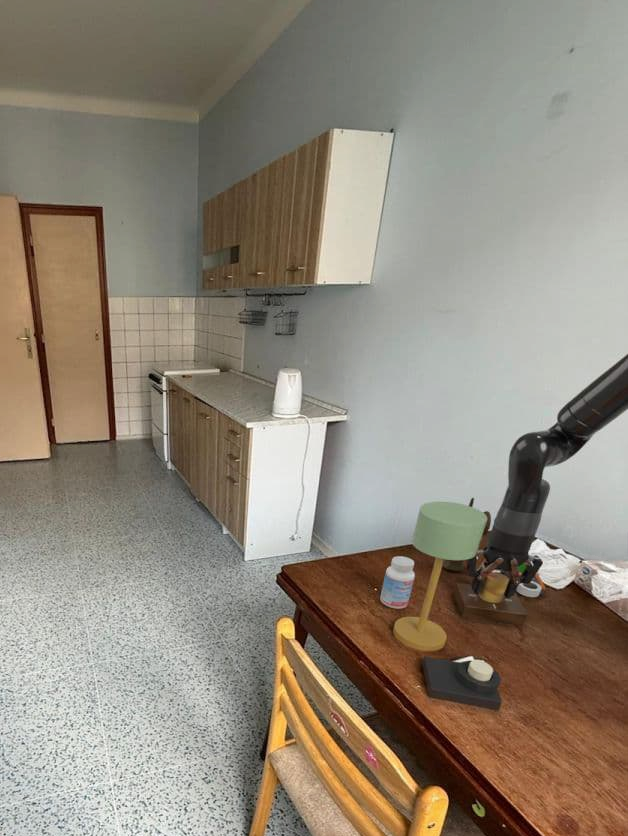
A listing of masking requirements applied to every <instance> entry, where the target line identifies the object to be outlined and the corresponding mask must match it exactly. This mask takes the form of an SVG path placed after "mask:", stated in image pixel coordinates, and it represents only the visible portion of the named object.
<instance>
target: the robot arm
mask: <svg viewBox="0 0 628 836" xmlns="http://www.w3.org/2000/svg"><path fill="white" fill-rule="evenodd" d="M626 411H628V353H627V354H625V355H624V356H623V357H622V358H620V359H619V360H618V361H616V363H615V364H613V365H612V366H610V367H609V368H608V369H606V370H605V371H604V372H603V373H602V374H600V375H599V376H598V377H596V378H595V379H594V380H593V381H591V383H589V384H588V385H586V386H585V388H583V389H582V390H581V391H580V392H578V393H577V394H576V395H575V396H573V398H571V399H570V400H569V401H568V402H567V403H566V404H564V405H563V406H562V408H561V409H559V411H558V413H557V415H556V421H557V422H555V423H554V424H553V425H552V426H551V427H549V428H548V429H545V430H538V431H531V432H527V433H524V434H522V435H521V436H519V437H518V438H517V439H516V441H515V442H514V444H513V445H512V447H511V449H510V451H509V455H508V464H507V465H508V468H507V480H508V482H507V483H508V484H507V487H506V490H505V493H504V497H503V499H502V502H501V505H500V506H499V508H498V510H497V513H496V516H495V517H494V520H493V525H492V528H491V531H490V533H489V536H488V540H487V543H486V545H485V547H484V548H483V549H478V550H477V554H476V555H475V556H474V557H473V558H471V559H467V560H466V572H467V574H468V576H469V577H470V578H473V580H472V583H471V584H470V585H471V587H472V590H473V591H474V593H475V594H479V592H480V589H481V586H482V584H483V581H484V578H485V577H486V576H487V575H488V574H490V573H491V572H494V571H502V570H504V571H509V572H510V577H511V579H510V580H509V582H508V584H507V587H506V590H505V592H504V596H505V598H509V599H510V597H511V596H514V594H516V592H517V591H516V589H517V587H518V585H519V584H521V583H525V584H529V583H530V582H531V581H532V579H533V578H534V576H535V575H536V573H537V572H539V570H540V569H541V567H542V566H543V564H544V562H543V560H542V559H541V557H540V556H539V555H531V554H529V551H530V550H531V547H532V544H533V542H534V539H535V536H536V534H537V531H538V529H539V526H540V524H541V520H542V514H543V511H544V508H545V505H546V503H547V500H548V498H549V495H550V492H551V484H550V482H548V481H547V480H545V479H544V478H543V477H544V470H545V468H549V467H554V466H558V465H561V464H563V463H565V462H567V461H568V460H569V459H571V458H572V457H573V456H575V455H576V454H577V453H579V451H581V449H583V447H584V446H585V445H586V444H587V443H589V441H590V440H591V438H593V436H594V435H595V434H596V433H598V432H599V431H600V430H602V429H603V428H606V426H608V425H609V424H610V423H612V422H613V421H614V420H616V419H617V418H618V417H619V416H621V415H622V414H623V413H625V412H626ZM482 556H483V558H484V560H483V561H482V562H481V564H480V566H479V567H478V568H477V561H479V560H481V559H480V558H481V557H482ZM526 561H527V564H528V565H527V567H526V568H525V570H524V571H523V573H522V574H521V575H519V570H518V567H519V566H520V565H522V564H523V563H525V562H526ZM476 568H477V569H476Z"/></svg>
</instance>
